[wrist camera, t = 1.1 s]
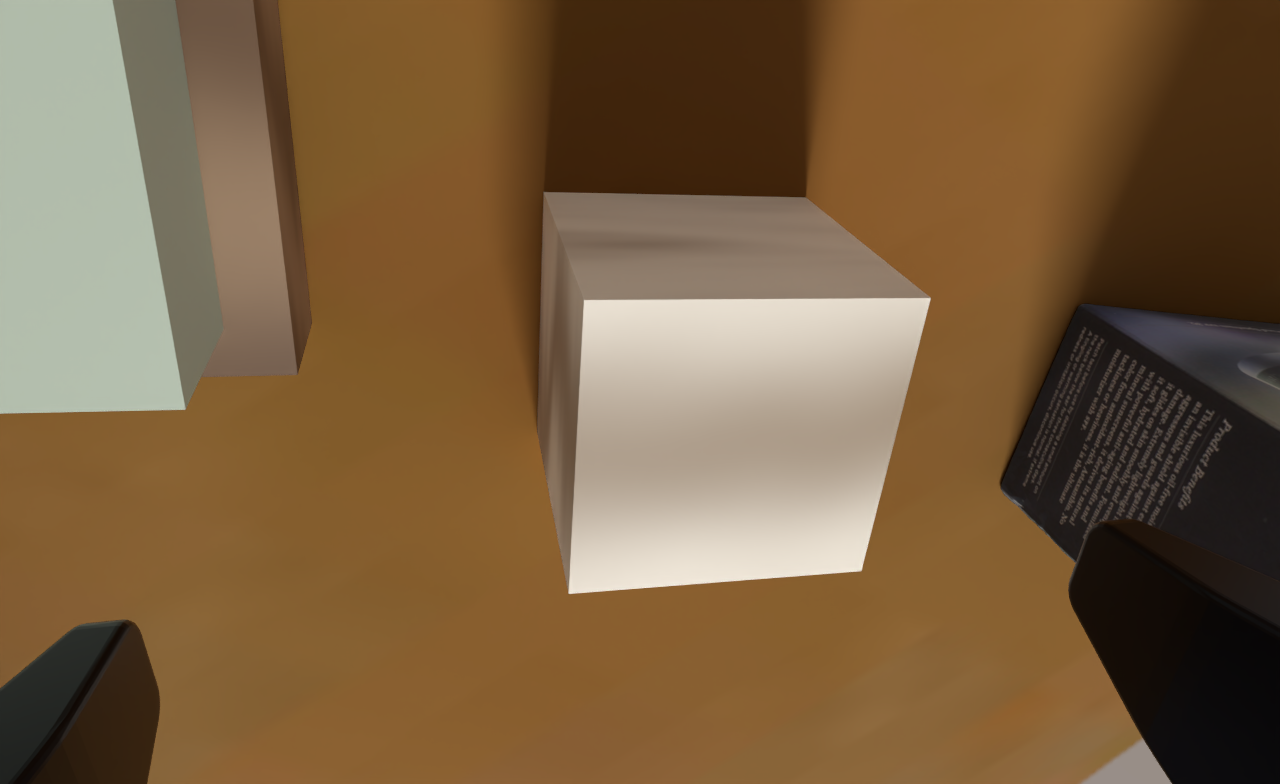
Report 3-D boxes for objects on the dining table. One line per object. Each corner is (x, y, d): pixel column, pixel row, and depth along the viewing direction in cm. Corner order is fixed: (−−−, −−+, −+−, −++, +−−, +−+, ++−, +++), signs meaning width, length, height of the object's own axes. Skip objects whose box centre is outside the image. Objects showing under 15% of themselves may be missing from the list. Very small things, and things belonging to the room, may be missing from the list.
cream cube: (766, 420, 23) (860, 571, 18) (537, 429, 22) (568, 593, 17) (804, 196, 20) (931, 298, 15) (543, 191, 19) (583, 300, 14)
